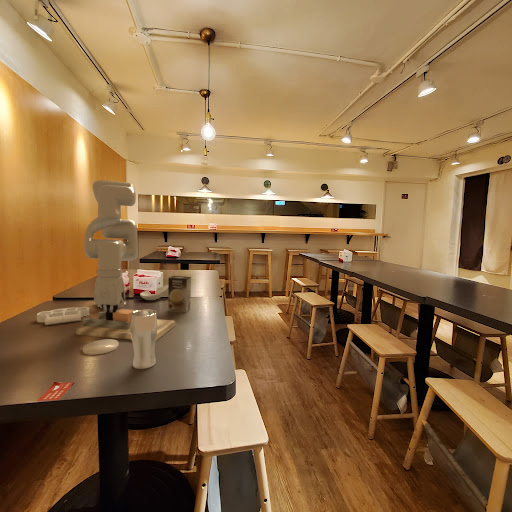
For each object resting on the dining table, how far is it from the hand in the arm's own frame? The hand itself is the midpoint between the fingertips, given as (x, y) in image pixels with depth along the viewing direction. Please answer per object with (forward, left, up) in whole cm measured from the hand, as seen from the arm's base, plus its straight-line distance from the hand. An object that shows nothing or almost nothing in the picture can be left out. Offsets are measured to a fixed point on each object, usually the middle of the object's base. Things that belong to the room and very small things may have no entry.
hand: (110, 321), depth 103 cm
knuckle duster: (-26, +6, -4) cm, 27 cm away
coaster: (+8, -16, -3) cm, 18 cm away
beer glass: (+27, -23, -3) cm, 36 cm away
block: (+6, 0, -1) cm, 6 cm away
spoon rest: (-4, +49, -3) cm, 49 cm away
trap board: (+7, 0, -3) cm, 8 cm away
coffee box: (+15, +28, -3) cm, 32 cm away
